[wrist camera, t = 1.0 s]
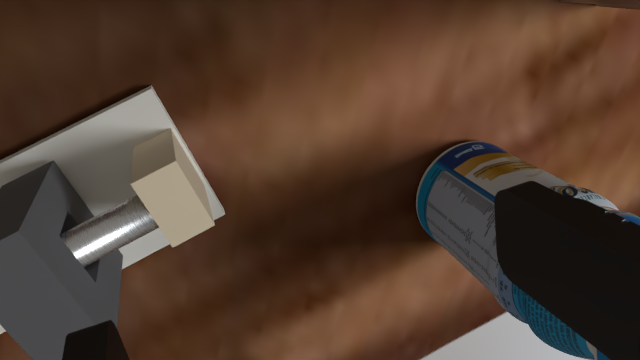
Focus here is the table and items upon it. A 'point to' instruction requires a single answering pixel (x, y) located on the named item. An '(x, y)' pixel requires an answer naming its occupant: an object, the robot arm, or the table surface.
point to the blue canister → (479, 227)
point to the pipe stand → (129, 170)
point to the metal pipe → (109, 231)
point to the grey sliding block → (49, 266)
